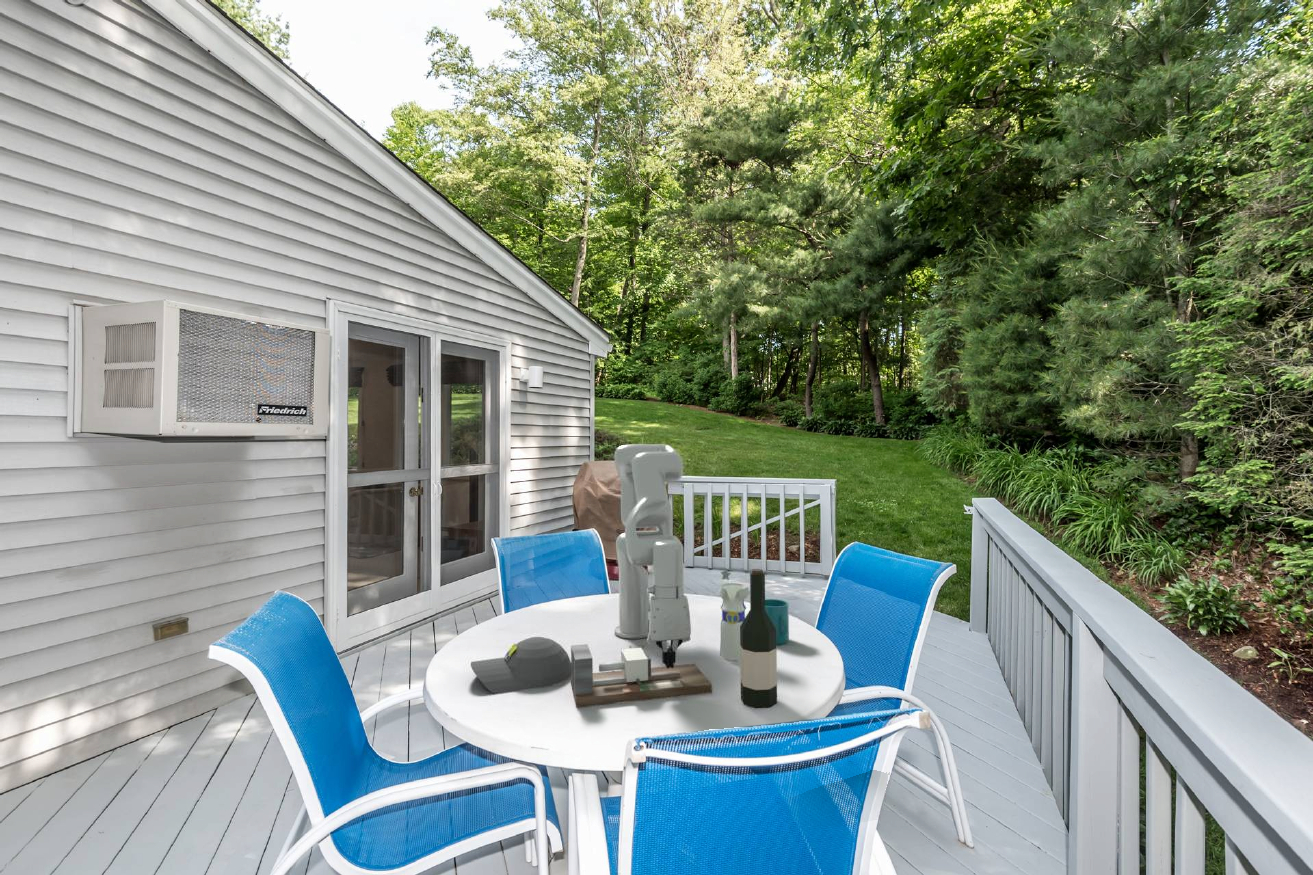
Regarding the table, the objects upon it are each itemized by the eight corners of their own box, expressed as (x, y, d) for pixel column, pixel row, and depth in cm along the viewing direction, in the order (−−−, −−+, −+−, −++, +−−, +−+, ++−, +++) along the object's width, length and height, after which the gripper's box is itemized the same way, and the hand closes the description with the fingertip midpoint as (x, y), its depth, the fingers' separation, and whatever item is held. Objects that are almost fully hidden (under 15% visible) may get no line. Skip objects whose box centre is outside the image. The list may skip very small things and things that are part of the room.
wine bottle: (779, 695, 141) (778, 567, 141) (774, 711, 133) (773, 574, 134) (744, 691, 144) (742, 565, 144) (737, 706, 136) (735, 572, 136)
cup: (773, 650, 172) (773, 610, 172) (752, 637, 183) (752, 600, 184) (800, 646, 175) (800, 607, 175) (778, 634, 187) (778, 597, 187)
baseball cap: (465, 664, 159) (477, 619, 160) (559, 676, 168) (570, 633, 169) (469, 691, 141) (483, 640, 143) (575, 703, 150) (587, 654, 151)
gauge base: (570, 683, 150) (570, 642, 150) (694, 671, 157) (694, 632, 157) (576, 707, 136) (575, 662, 136) (711, 692, 143) (711, 650, 143)
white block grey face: (597, 671, 148) (597, 651, 148) (645, 667, 151) (644, 647, 151) (603, 688, 138) (602, 666, 138) (654, 683, 141) (654, 661, 141)
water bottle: (749, 662, 163) (748, 569, 163) (717, 660, 165) (716, 568, 165) (750, 651, 171) (750, 563, 171) (720, 649, 173) (719, 562, 173)
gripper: (641, 597, 143) (642, 674, 143) (702, 593, 146) (702, 669, 146) (635, 589, 150) (636, 663, 150) (693, 585, 154) (694, 658, 154)
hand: (669, 666), depth 148 cm, fingers closed
